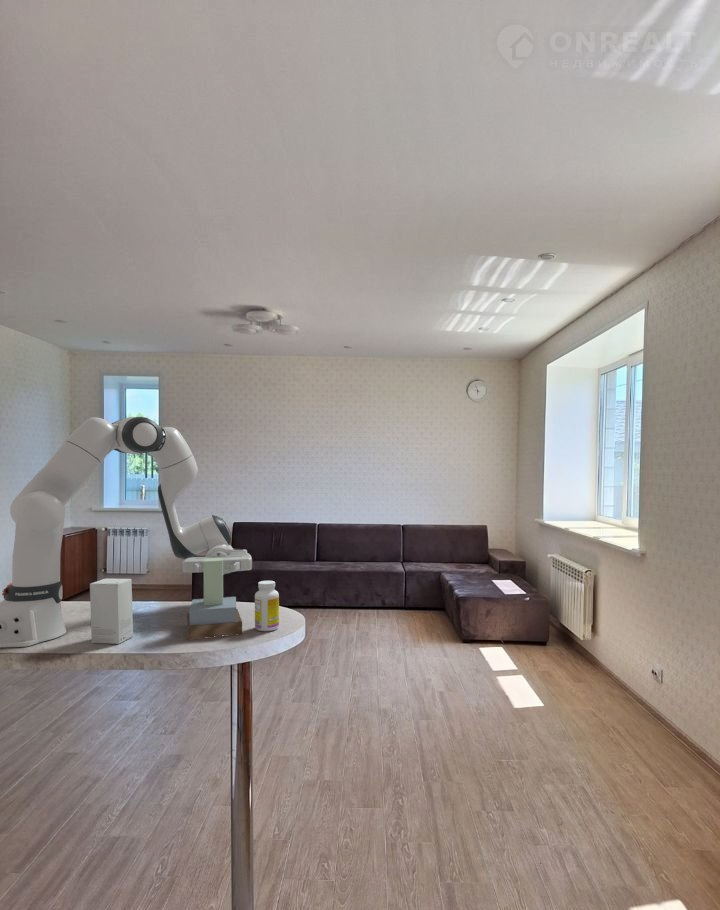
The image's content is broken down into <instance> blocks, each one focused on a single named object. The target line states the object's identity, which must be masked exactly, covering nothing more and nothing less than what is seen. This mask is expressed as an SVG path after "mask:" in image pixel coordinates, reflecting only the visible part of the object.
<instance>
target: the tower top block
mask: <svg viewBox="0 0 720 910" xmlns="http://www.w3.org/2000/svg"><path fill="white" fill-rule="evenodd" d="M236 609H237V596H226V597H225V596H223V604H221V605H206V606H204V598H192V600H191V604H190V608H189V613H190V625H204V624H218V623H231V622H236Z"/></svg>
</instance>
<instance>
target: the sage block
mask: <svg viewBox="0 0 720 910" xmlns="http://www.w3.org/2000/svg"><path fill="white" fill-rule="evenodd" d="M223 597H224V575H223V558H204V572H203V599H204V606H206V605H221V604H223Z"/></svg>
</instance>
